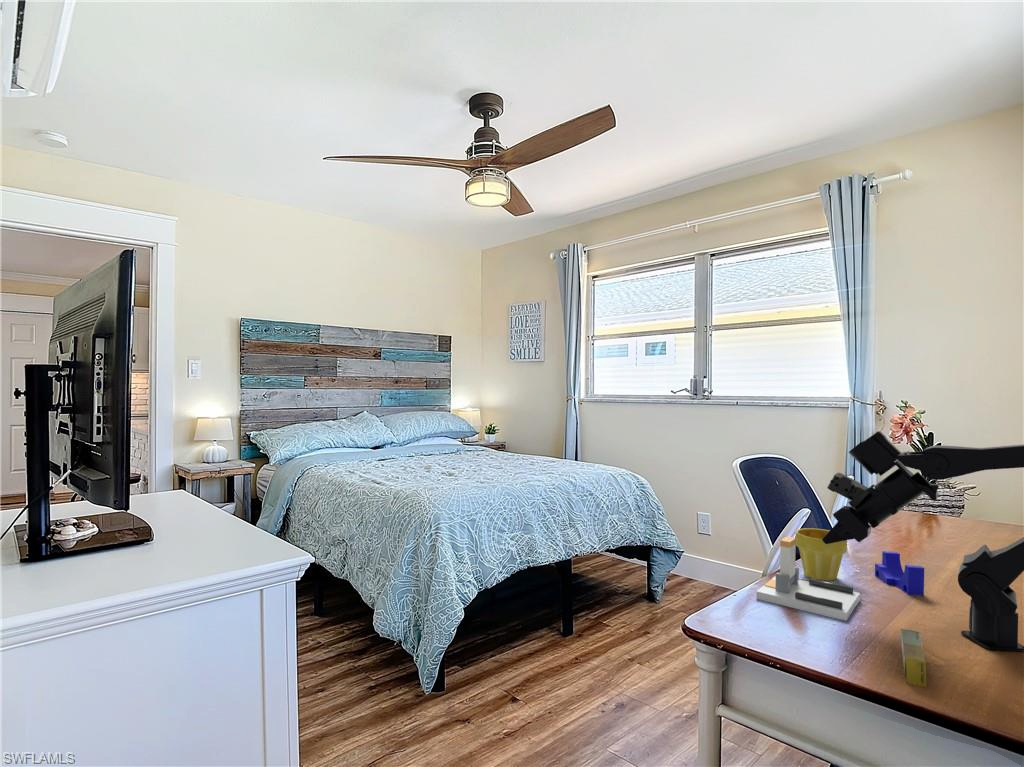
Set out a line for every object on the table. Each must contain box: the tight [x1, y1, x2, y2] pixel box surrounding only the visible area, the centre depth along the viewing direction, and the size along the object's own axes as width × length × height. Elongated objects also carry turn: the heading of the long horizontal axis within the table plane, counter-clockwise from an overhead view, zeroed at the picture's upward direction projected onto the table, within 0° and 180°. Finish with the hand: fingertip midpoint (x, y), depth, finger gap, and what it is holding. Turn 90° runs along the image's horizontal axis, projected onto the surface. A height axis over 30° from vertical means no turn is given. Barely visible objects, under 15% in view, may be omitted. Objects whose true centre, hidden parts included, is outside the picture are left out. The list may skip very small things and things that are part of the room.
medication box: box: [900, 628, 927, 688], centre depth 89 cm, size 12×3×4 cm, turn 148°
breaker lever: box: [779, 536, 797, 584], centre depth 119 cm, size 2×5×9 cm, turn 140°
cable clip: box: [874, 550, 925, 597], centre depth 127 cm, size 12×4×6 cm, turn 170°
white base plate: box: [755, 566, 861, 622], centre depth 117 cm, size 16×14×5 cm
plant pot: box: [795, 527, 848, 582], centre depth 132 cm, size 10×10×10 cm
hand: (824, 541), depth 115 cm, fingers closed
